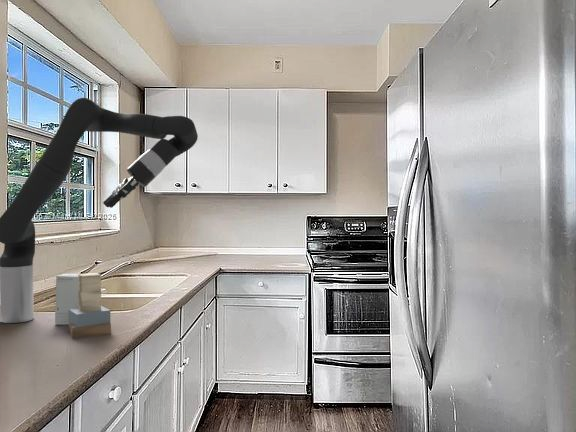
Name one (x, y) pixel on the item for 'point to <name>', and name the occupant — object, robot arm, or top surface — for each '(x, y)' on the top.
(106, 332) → the walnut base block
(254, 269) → the top surface
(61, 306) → the skincare box
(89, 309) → the birch pillar block
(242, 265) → the top surface
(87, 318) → the slate top block
